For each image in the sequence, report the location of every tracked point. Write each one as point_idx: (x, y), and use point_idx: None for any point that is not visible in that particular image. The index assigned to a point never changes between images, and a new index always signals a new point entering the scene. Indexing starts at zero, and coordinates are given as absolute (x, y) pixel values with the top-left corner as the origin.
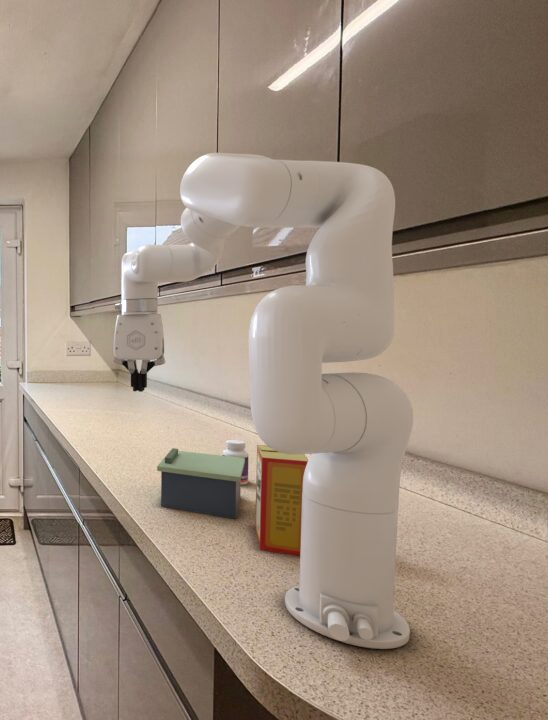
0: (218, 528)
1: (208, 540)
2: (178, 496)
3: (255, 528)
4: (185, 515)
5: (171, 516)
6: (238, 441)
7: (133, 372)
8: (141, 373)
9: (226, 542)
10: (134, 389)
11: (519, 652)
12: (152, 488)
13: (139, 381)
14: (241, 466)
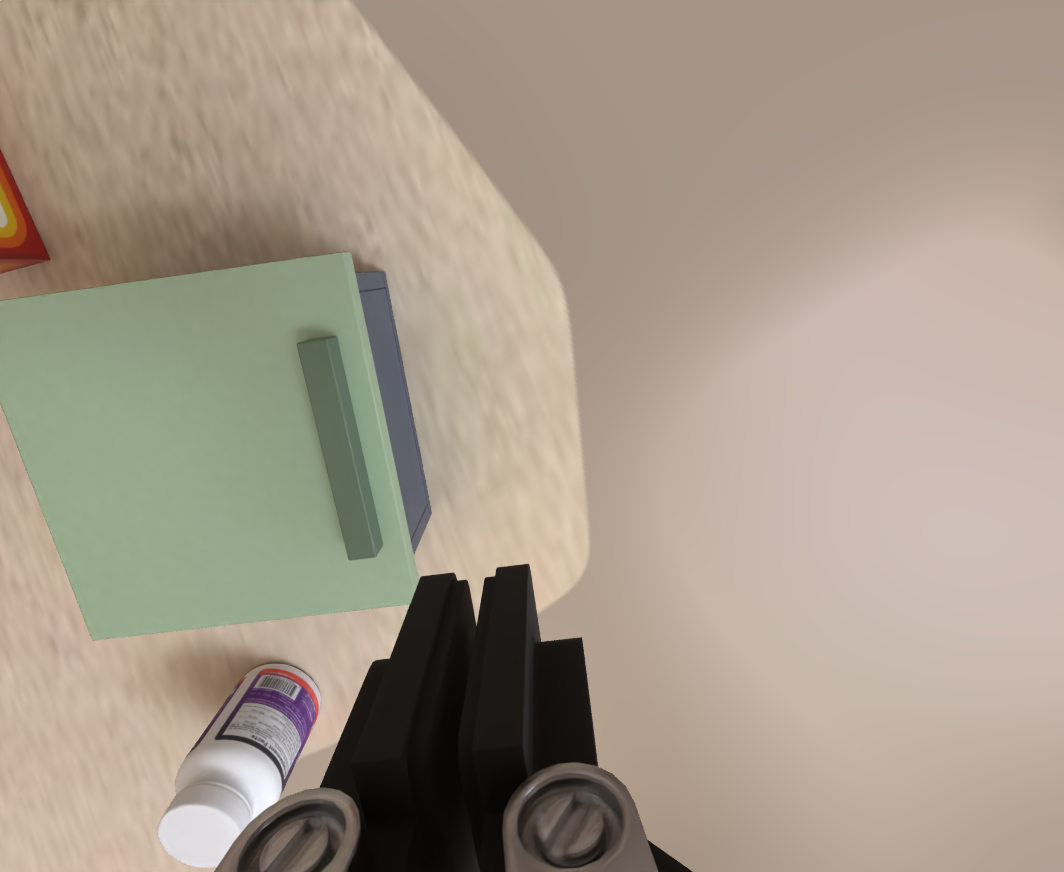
0: (137, 172)
1: (113, 22)
2: None
3: (45, 251)
4: (276, 231)
5: (311, 185)
6: (188, 843)
7: (523, 785)
8: (377, 824)
9: (62, 47)
10: (507, 571)
11: None
12: (492, 457)
13: (417, 652)
14: (39, 492)
